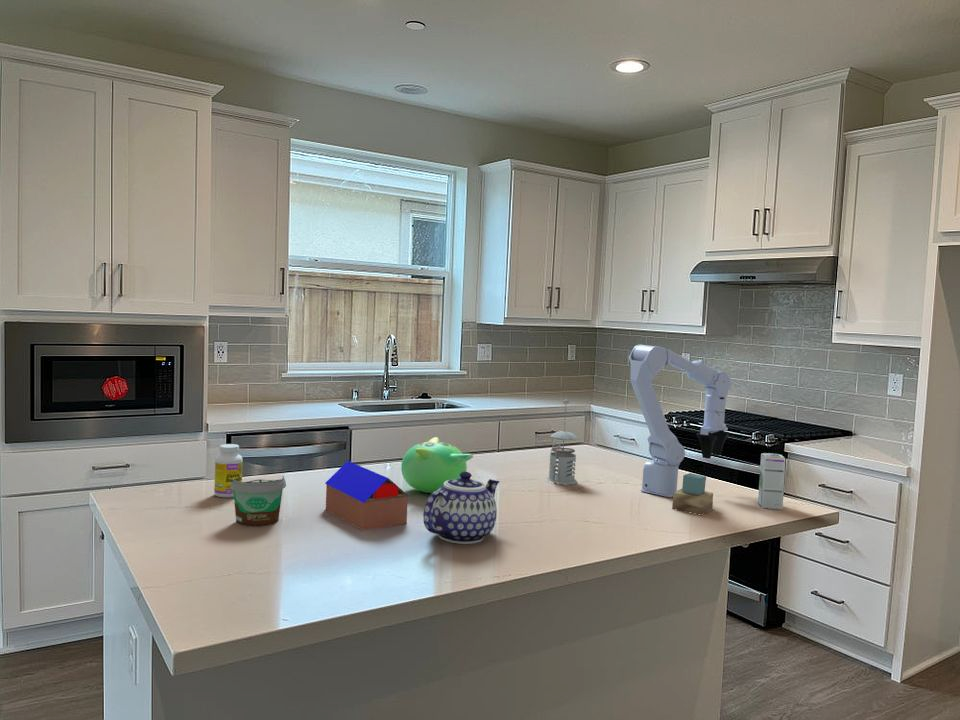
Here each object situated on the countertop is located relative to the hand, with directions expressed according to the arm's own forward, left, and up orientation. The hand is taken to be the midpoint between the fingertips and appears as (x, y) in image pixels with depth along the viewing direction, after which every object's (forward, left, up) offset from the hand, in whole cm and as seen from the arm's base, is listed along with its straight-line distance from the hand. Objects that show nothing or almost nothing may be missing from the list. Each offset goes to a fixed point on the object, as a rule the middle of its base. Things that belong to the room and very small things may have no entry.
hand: (711, 456), depth 216 cm
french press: (-36, -26, -11) cm, 46 cm away
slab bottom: (+5, -24, -11) cm, 27 cm away
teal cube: (+5, -24, -6) cm, 25 cm away
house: (-47, -94, -11) cm, 106 cm away
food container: (-58, -116, -11) cm, 130 cm away
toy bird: (-52, -65, -11) cm, 84 cm away
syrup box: (+19, -4, -11) cm, 22 cm away
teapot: (-21, -89, -11) cm, 92 cm away
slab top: (+5, -24, -8) cm, 26 cm away
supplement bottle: (-84, -108, -11) cm, 137 cm away
